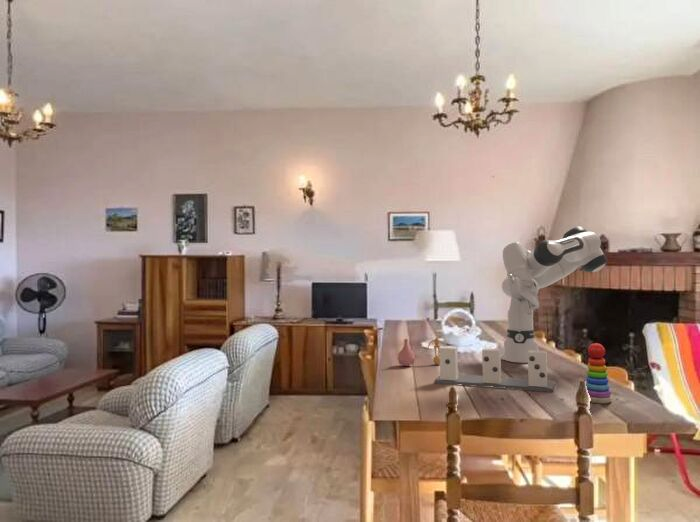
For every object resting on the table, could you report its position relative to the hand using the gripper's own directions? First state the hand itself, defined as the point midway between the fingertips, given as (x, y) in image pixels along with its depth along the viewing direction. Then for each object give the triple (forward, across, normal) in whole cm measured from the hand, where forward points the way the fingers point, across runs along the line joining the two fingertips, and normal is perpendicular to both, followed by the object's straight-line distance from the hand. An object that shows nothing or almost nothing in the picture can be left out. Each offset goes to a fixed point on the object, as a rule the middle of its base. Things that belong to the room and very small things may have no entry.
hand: (529, 313), depth 192 cm
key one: (+18, -7, +34) cm, 39 cm away
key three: (+26, +2, +4) cm, 26 cm away
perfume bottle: (+3, +9, +61) cm, 62 cm away
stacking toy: (+36, -1, -15) cm, 39 cm away
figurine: (+3, +19, +51) cm, 55 cm away
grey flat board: (+22, +1, +20) cm, 29 cm away
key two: (+22, -2, +19) cm, 29 cm away
